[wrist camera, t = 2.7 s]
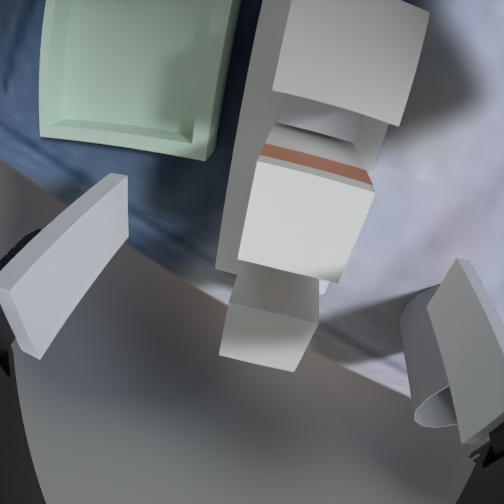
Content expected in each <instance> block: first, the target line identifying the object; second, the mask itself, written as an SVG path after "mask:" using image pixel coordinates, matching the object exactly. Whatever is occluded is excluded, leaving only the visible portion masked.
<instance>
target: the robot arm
mask: <svg viewBox="0 0 504 504" xmlns="http://www.w3.org/2000/svg"><path fill="white" fill-rule="evenodd" d="M128 237H129V234H128V176H125V175H120V174H114V173H110V174H108V175H107V176H106V177H105V178H103V179H102V180H101V181H99V182H98V183H97V184H96V185H94V186H93V187H92V188H91V189H89V190H88V191H87V192H86V193H84V194H83V195H82V196H81V197H80V198H78V199H77V200H76V201H75V202H74V203H72V204H71V205H70V206H69V207H68V208H66V210H64V211H63V212H62V213H61V214H59V215H58V216H57V217H56V218H55V219H54V220H53V221H52V222H50V224H48V225H47V226H46V227H45V228H44V229H43V230H41V229H38V230H36V231H34V232H32V233H30V234H28V235H26V236H25V237H24V238H23V239H22V240H21V241H20V242H18V243H17V244H16V246H15V247H13V248H12V249H11V250H10V251H9V252H8V255H5V256H4V257H3V258H2V259H1V260H0V504H46V503H45V500H44V497H43V494H42V491H41V488H40V485H39V482H38V479H37V476H36V472H35V469H34V465H33V462H32V458H31V454H30V451H29V446H28V442H27V438H26V433H25V429H24V424H23V420H22V414H21V409H20V403H19V396H18V390H17V383H16V375H15V367H14V356H13V350H12V347H11V344H12V342H13V341H14V339H15V338H16V340H17V341H18V344H19V346H20V348H21V350H22V351H24V352H26V353H28V354H30V355H32V356H34V357H36V358H38V359H41V357H42V356H43V354H44V353H45V351H46V350H47V348H48V347H49V345H50V344H51V342H52V341H53V339H54V338H55V336H56V334H57V333H58V332H59V330H60V328H61V327H62V326H63V324H64V323H65V321H66V320H67V318H68V317H69V315H70V314H71V312H72V311H73V310H74V308H75V307H76V305H77V304H78V303H79V301H80V300H81V298H82V297H83V296H84V294H85V293H86V291H87V290H88V289H89V287H90V286H91V285H92V283H93V282H94V281H95V279H96V278H97V277H98V275H99V274H100V273H101V271H102V270H103V269H104V267H105V266H106V265H107V263H108V262H109V261H110V260H111V258H112V257H113V256H114V254H115V253H116V252H117V251H118V249H119V248H120V247H121V246H122V244H123V243H124V242H125V241H126V239H127V238H128ZM427 310H428V313H429V316H430V319H431V323H432V326H433V329H434V332H435V335H436V339H437V342H438V345H439V349H440V352H441V356H442V359H443V363H444V367H445V370H446V374H447V378H448V382H449V386H450V390H451V394H452V399H453V403H454V408H455V412H456V417H457V422H458V427H459V433H460V438H461V443H462V444H466V443H476V442H478V441H480V440H481V439H482V438H484V437H485V436H487V435H488V434H489V436H490V441H489V442H487V443H486V444H484V445H483V446H481V447H480V448H478V449H477V450H475V451H474V452H472V453H471V454H470V456H469V457H470V458H472V457H474V456H475V455H477V454H478V453H479V454H480V456H479V457H477V458H476V459H474V460H473V461H474V462H476V464H475V467H474V469H473V471H472V473H471V475H470V477H469V479H468V481H467V483H466V485H465V487H464V489H463V491H462V493H461V495H460V497H459V499H458V501H457V502H456V504H504V325H503V323H502V321H501V319H500V317H499V314H498V312H497V310H496V308H495V306H494V304H493V303H492V301H491V299H490V297H489V295H488V293H487V291H486V289H485V287H484V286H483V284H482V282H481V280H480V278H479V277H478V275H477V273H476V271H475V270H474V268H473V266H472V264H471V263H470V262H469V261H466V260H463V259H460V258H456V259H455V261H454V263H453V265H452V266H451V268H450V270H449V271H448V273H447V275H446V276H445V278H444V280H443V281H442V283H441V285H440V286H439V288H438V289H437V291H436V293H435V294H434V296H433V297H432V299H431V300H430V302H429V303H428V305H427Z"/></svg>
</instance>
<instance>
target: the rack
mask: <svg viewBox="0 0 504 504" xmlns="http://www.w3.org/2000/svg"><path fill="white" fill-rule="evenodd" d="M291 1H292V0H263V1H262V5H261V10H260V15H259V19H258V24H257V29H256V34H255V38H254V43H253V48H252V53H251V58H250V63H249V68H248V73H247V79H246V84H245V89H244V94H243V100H242V105H241V111H240V116H239V121H238V127H237V133H236V138H235V144H234V150H233V156H232V161H231V167H230V173H229V179H228V185H227V192H226V198H225V204H224V210H223V217H222V223H221V230H220V236H219V243H218V250H217V256H216V263H215V269H216V270H220V271H224V272H228V273H232V274H236V275H237V274H238V271H239V268H240V264H241V261H242V260H239V259H237V258H238V253H239V248H240V243H241V238H242V233H243V228H244V223H245V218H246V213H247V208H248V203H249V198H250V193H251V188H252V184H253V179H254V174H255V169H256V164H257V160H258V158H259V155H260V153H261V151H262V148H263V146H264V144H265V142H266V140H267V138H268V136H269V134H270V131H271V129H272V127H273V125H274V123H275V120H276V118H277V116H278V115H279V117H278V121H277V123H282V124H286V125H290V126H294V127H298V128H302V129H306V130H310V131H314V132H317V133H321V134H325V135H328V136H332V137H335V138H339V139H342V140H346V141H349V142H352V143H353V144H354V146H355V148H356V150H357V152H358V154H359V157H360V159H361V161H362V163H363V165H364V167H365V170H366V171H367V173H368V176H369V178H371V176H372V173H373V170H374V167H375V164H376V161H377V159H378V156H379V153H380V150H381V147H382V144H383V141H384V138H385V135H386V132H387V129H388V125H389V123H387V122H384V121H381V120H378V119H375V118H372V117H369V116H366V115H363V114H360V113H357V112H354V111H350V110H347V109H344V108H340V107H337V106H333V105H330V104H326V103H323V102H319V101H315V100H311V99H307V98H303V97H299V96H295V95H291V94H287V93H282V92H278V91H273V90H272V88H273V83H274V79H275V74H276V69H277V65H278V60H279V55H280V51H281V46H282V42H283V37H284V33H285V28H286V24H287V19H288V15H289V10H290V6H291ZM329 282H330V281H326V280H322V279H319V294H320V295H324V293H325V291H326V289H327V286H328V284H329Z"/></svg>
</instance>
